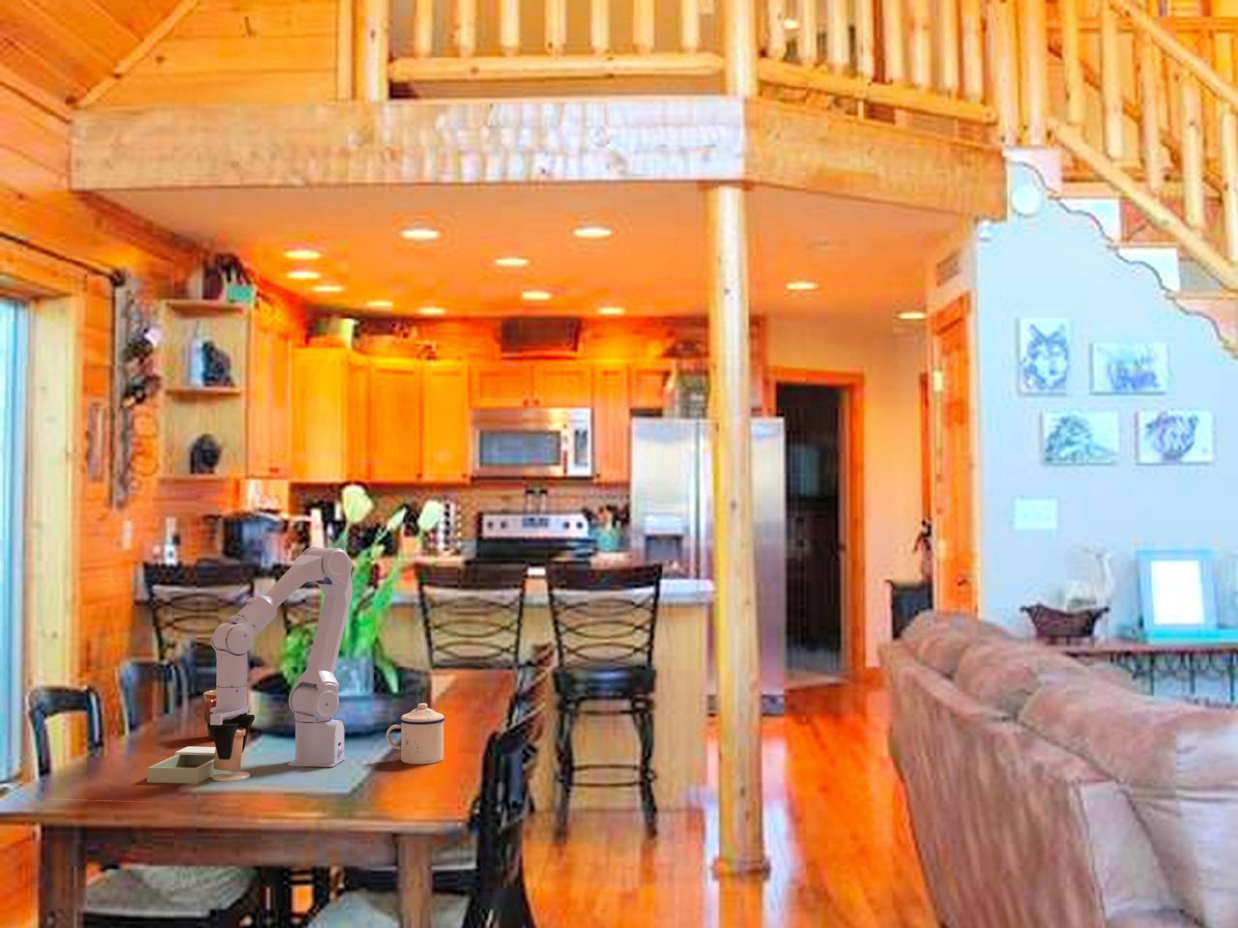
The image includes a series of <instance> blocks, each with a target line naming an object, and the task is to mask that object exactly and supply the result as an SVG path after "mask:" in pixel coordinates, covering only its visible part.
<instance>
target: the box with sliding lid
mask: <svg viewBox="0 0 1238 928" xmlns="http://www.w3.org/2000/svg"><path fill="white" fill-rule="evenodd" d="M215 747H216V746H186V747H184V748H182V749H180V750H177V751H175V753H174V755H173V756H171V757H168V758H166V759H164V760H161V761H160V762H157V763H155V764H153V765H151V766H149V767H147V769H146V770H147V772H146V773H147V774H146V775H147V777H146V783H158V784H159V783H164V784H165V783H166V784H199V783H201V782H203V781H205V780H207V779H210V778H212V776H213V775H214V774H217V773H221V772H223V771H222V770H216V769H214V768H213V767H214V757H215Z"/></svg>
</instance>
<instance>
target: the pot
mask: <svg viewBox="0 0 1238 928" xmlns="http://www.w3.org/2000/svg"><path fill="white" fill-rule="evenodd" d="M245 732H246V729H245V728H242V727H238V728H237V730H236V733H235V736H234V740H233V747H232V754H231V758H230V759H229V760H222V759H219V758H218V754H217V750H216V746H214V747H215V757H214V767H213V768H214V769H216V770H222V771H221V772H229V771H240V769H241V765H242V756H243V753H242V746H243V736H245Z"/></svg>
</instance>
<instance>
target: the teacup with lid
mask: <svg viewBox="0 0 1238 928" xmlns="http://www.w3.org/2000/svg"><path fill="white" fill-rule="evenodd" d="M445 719H446V718H445V716H444V714H443V713H440V712H436V711H435V710H433V709H432V708H430V707H429V708H428V703H426V702H423V703H422V702H421V703H418V704H417V708H414V709H412V710H411V711H410V712H408V713H405V714H403V715H401V717H400V719H399V721H400V722H401V723H400V724H393V725H391V726H390V727H389V728H388V729H387V730H386V736H385V737H386V738H385V739H386V740H387V741H386V742H387V743H388V745H389V746H390V747H391V748H393V749H395V750H400V752H401V753H400V759H401V762H403V763H404V764H409V765H431V764H436V763H440V762H441V761H443V760H444V721H445ZM396 729H401V730H400V731H401V735H400V736H401V743H400V745H397V744H395V743H394V742H393V741H392V739H391V732H392V730H396Z"/></svg>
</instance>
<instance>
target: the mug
mask: <svg viewBox="0 0 1238 928" xmlns="http://www.w3.org/2000/svg"><path fill="white" fill-rule="evenodd" d="M203 697H204V700H205V701H204V703H203V716H204V721H205V723H206V724H205V729H206V734H207V735H206V736H207V737H208V739H211V740H212V741H214V739H213V737H212V735H211V733H210V731H209V729H208V728H207V723H209V722H210V715H211V714H213V713H214V712H210V709H211V708H213V707H216V689H211V690H207V691H205V692H203Z"/></svg>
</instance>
